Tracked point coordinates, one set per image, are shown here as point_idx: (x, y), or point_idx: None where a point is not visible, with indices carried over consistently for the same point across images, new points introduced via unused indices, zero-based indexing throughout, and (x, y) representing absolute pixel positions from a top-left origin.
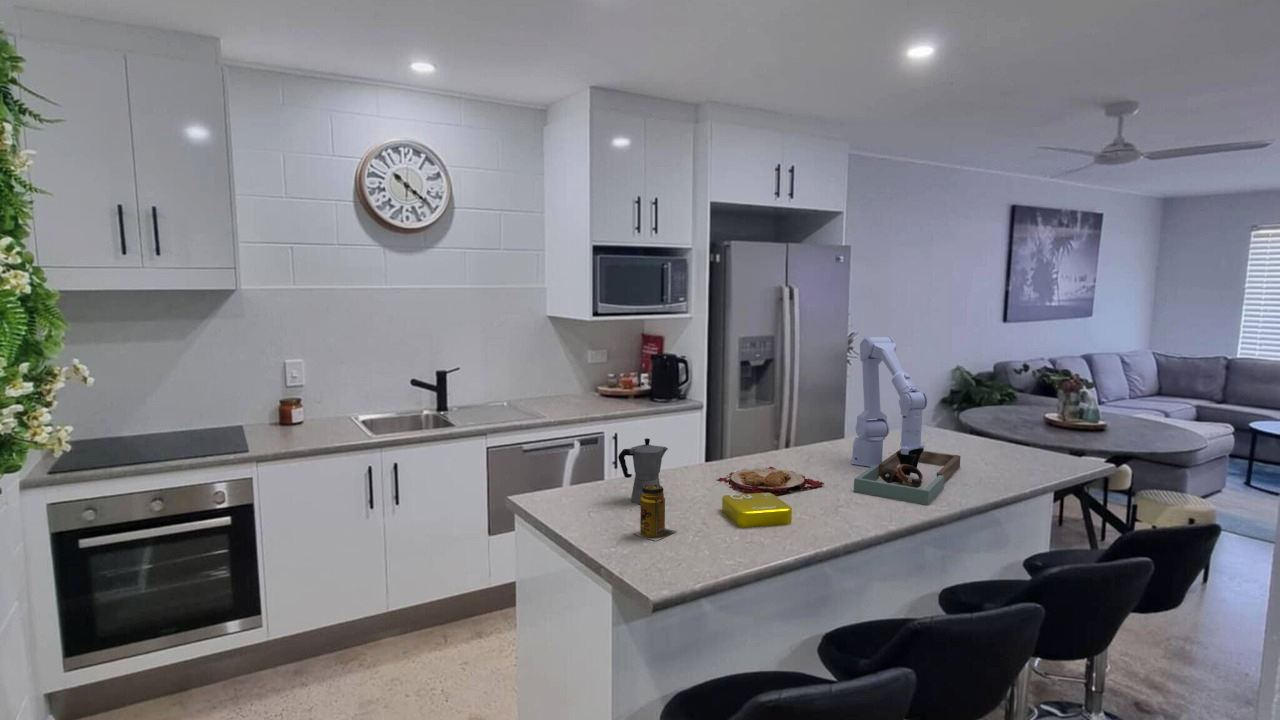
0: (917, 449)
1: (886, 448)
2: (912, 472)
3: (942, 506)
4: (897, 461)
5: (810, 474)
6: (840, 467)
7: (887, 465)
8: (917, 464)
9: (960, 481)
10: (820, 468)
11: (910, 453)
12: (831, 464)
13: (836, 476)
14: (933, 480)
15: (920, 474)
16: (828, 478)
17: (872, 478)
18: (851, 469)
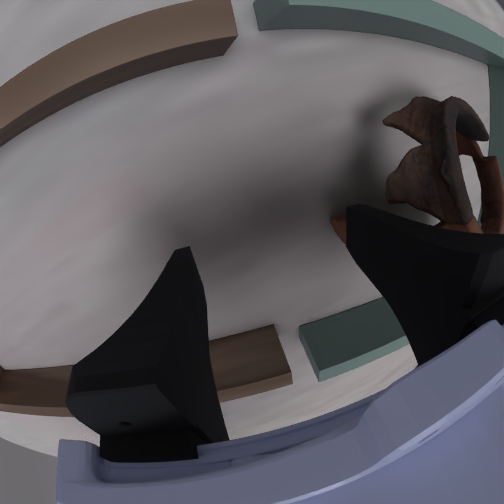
0: (186, 412)
1: (3, 414)
2: (399, 188)
3: (478, 9)
4: (66, 382)
5: (370, 393)
6: (259, 417)
7: (216, 375)
8: (170, 270)
9: (12, 43)
10: (305, 418)
11: (483, 309)
12: (248, 431)
13: (359, 373)
14: (446, 31)
15: (456, 116)
16: (386, 366)
17: (384, 310)
18: (255, 403)
